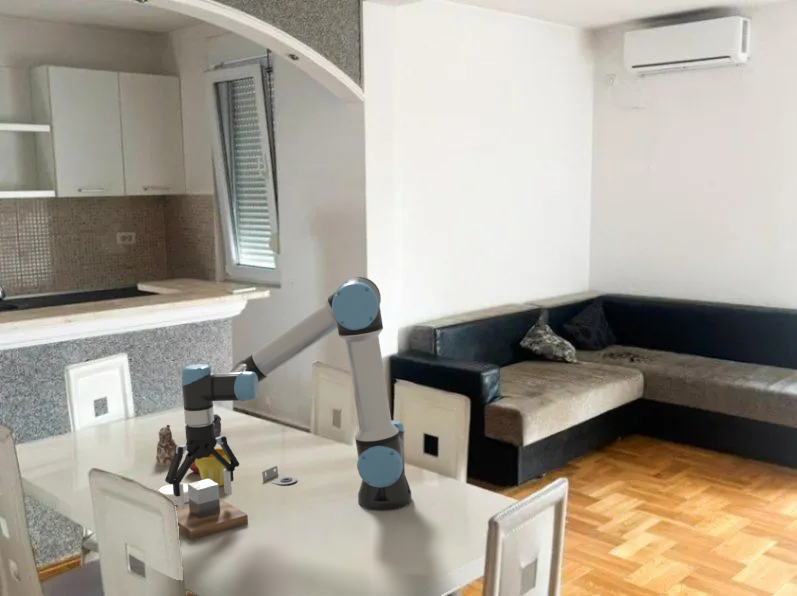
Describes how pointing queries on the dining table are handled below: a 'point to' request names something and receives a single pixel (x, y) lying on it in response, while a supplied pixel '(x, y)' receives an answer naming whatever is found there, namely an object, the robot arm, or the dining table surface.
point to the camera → (217, 425)
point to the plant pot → (212, 467)
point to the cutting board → (210, 521)
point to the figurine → (165, 447)
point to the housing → (204, 498)
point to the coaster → (169, 492)
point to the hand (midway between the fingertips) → (205, 500)
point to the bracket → (280, 481)
